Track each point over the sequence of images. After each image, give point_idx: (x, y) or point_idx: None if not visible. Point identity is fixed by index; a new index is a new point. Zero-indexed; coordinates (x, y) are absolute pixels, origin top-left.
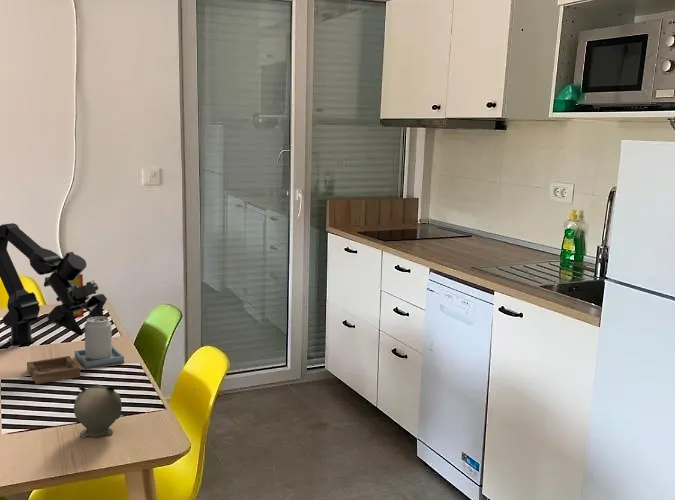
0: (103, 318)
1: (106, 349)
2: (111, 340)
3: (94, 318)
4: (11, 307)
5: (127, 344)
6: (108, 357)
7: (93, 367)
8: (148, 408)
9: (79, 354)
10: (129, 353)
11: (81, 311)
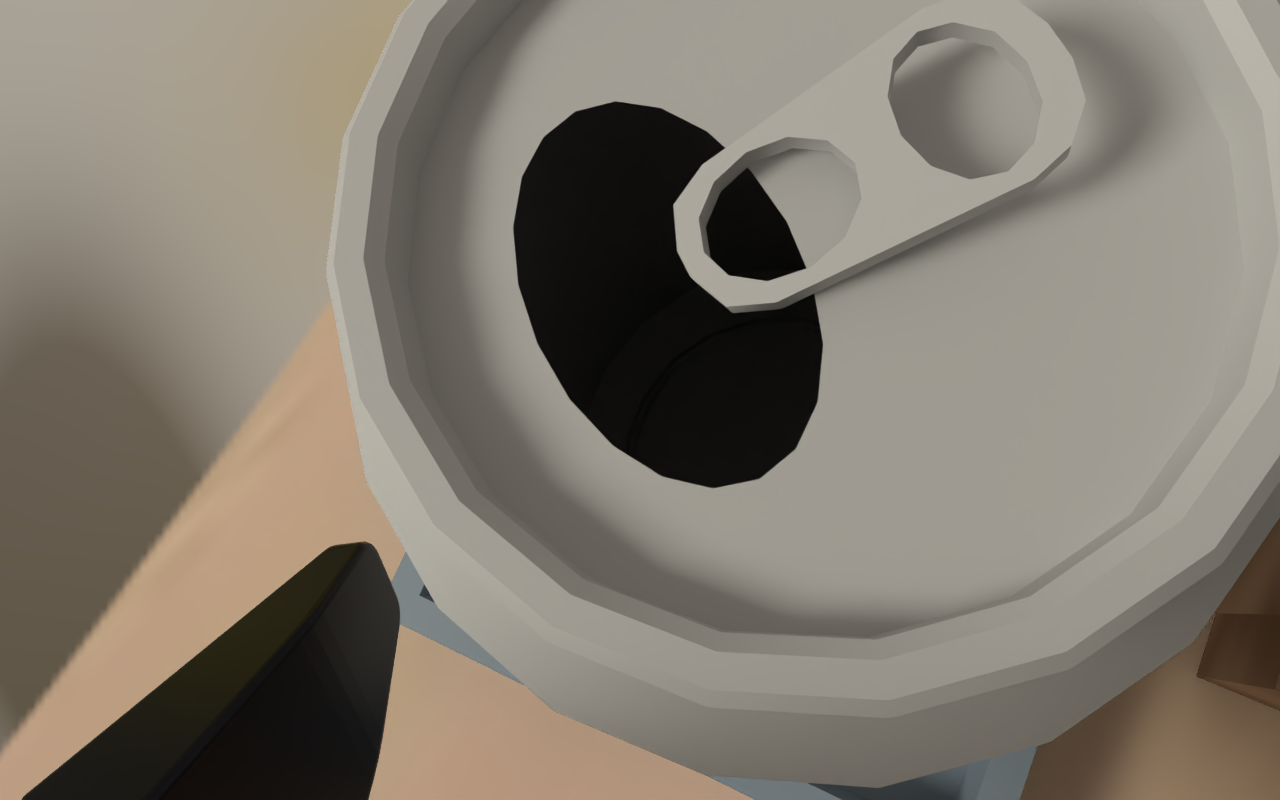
0: (419, 324)
1: (782, 218)
2: (600, 232)
3: (665, 614)
4: None
5: (74, 690)
6: (699, 342)
7: None
8: None
9: None
10: (341, 369)
11: None
